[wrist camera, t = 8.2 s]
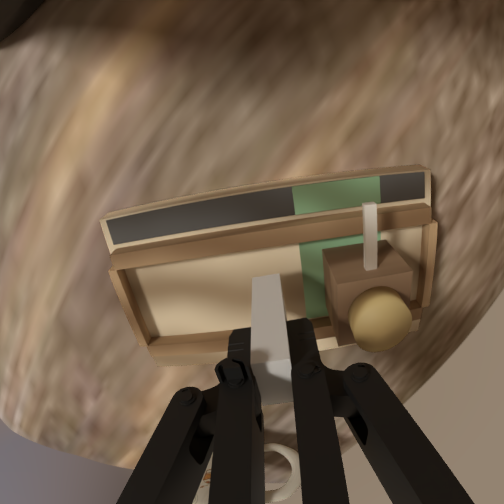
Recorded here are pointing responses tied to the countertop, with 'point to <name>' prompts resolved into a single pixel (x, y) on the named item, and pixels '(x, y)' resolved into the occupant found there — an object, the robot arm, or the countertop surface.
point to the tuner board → (258, 254)
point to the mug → (270, 496)
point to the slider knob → (368, 290)
